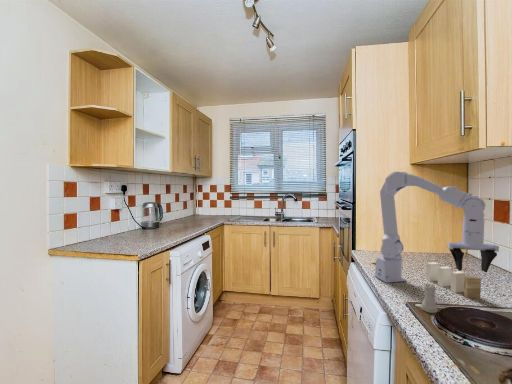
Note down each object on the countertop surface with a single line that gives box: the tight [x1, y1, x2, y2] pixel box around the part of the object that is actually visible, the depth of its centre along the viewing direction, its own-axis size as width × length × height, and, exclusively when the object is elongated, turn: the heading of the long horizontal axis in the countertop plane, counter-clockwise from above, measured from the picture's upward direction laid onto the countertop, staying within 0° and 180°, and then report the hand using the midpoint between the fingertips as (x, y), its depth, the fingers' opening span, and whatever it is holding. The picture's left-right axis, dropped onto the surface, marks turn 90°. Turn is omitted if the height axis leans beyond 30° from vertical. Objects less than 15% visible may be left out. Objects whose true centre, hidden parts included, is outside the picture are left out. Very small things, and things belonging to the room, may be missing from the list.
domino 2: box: [437, 265, 452, 288], centre depth 104 cm, size 2×4×7 cm, turn 102°
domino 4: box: [463, 275, 482, 300], centre depth 94 cm, size 2×4×7 cm, turn 77°
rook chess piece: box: [420, 283, 439, 314], centre depth 84 cm, size 4×4×8 cm
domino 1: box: [425, 261, 440, 282], centre depth 110 cm, size 2×4×7 cm, turn 102°
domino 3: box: [450, 270, 466, 294], centre depth 99 cm, size 2×4×7 cm, turn 102°
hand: (471, 270), depth 94 cm, fingers open, 7 cm apart
